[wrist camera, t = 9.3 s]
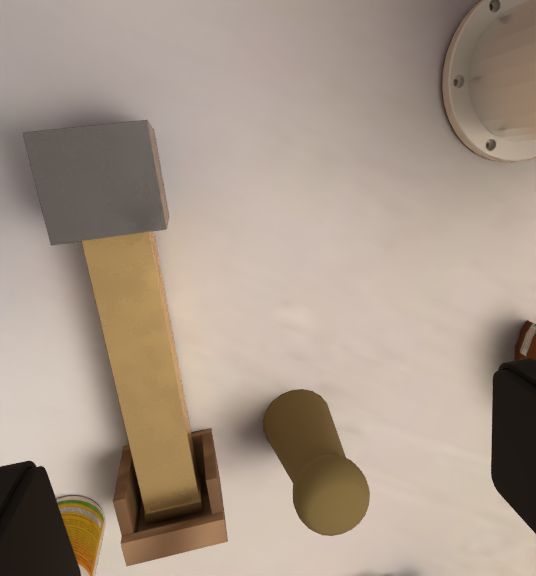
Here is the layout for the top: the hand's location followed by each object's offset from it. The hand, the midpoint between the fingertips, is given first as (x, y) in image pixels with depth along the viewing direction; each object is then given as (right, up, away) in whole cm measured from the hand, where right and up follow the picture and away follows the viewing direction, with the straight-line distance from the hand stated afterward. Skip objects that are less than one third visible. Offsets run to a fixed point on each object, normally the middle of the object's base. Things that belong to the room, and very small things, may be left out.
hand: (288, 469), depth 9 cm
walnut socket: (-8, -11, +29) cm, 32 cm away
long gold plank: (-10, -1, +26) cm, 27 cm away
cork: (+2, -8, +30) cm, 31 cm away
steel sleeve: (-11, +11, +22) cm, 27 cm away
